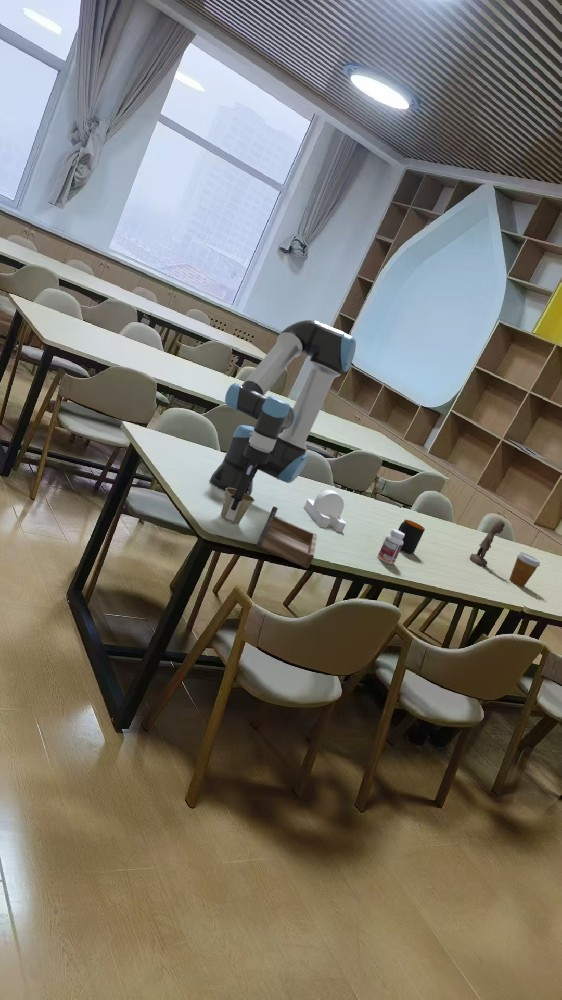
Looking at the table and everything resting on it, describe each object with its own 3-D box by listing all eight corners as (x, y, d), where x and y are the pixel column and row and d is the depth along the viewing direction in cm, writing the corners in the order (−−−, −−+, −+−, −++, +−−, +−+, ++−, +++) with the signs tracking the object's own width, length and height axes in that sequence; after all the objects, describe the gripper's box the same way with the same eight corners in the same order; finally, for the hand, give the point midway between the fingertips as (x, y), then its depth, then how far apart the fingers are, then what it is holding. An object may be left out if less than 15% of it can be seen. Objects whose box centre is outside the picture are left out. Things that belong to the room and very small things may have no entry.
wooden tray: (264, 525, 240) (273, 506, 238) (312, 545, 240) (320, 526, 238) (255, 546, 215) (265, 525, 214) (308, 569, 215) (317, 547, 214)
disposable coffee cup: (502, 575, 312) (515, 549, 310) (522, 582, 314) (535, 557, 311) (510, 583, 303) (524, 557, 300) (531, 591, 305) (545, 565, 302)
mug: (402, 543, 294) (413, 519, 292) (417, 556, 284) (429, 531, 281) (384, 537, 291) (396, 513, 288) (399, 551, 280) (411, 526, 278)
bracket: (342, 533, 272) (355, 505, 269) (318, 526, 268) (331, 497, 265) (325, 514, 289) (337, 487, 286) (302, 507, 285) (314, 480, 282)
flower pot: (246, 522, 235) (256, 497, 233) (242, 529, 226) (253, 503, 224) (218, 510, 235) (228, 485, 233) (213, 517, 226) (223, 491, 224)
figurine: (489, 569, 313) (511, 526, 309) (473, 563, 311) (495, 520, 307) (480, 560, 322) (501, 518, 317) (465, 555, 320) (486, 513, 315)
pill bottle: (387, 558, 263) (400, 530, 261) (397, 566, 258) (410, 537, 255) (373, 554, 260) (387, 526, 257) (383, 563, 255) (396, 533, 252)
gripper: (252, 438, 236) (226, 502, 241) (243, 448, 214) (214, 518, 219) (274, 447, 236) (247, 511, 241) (267, 458, 214) (238, 528, 219)
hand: (231, 515), depth 230 cm, fingers closed on flower pot, 9 cm apart
